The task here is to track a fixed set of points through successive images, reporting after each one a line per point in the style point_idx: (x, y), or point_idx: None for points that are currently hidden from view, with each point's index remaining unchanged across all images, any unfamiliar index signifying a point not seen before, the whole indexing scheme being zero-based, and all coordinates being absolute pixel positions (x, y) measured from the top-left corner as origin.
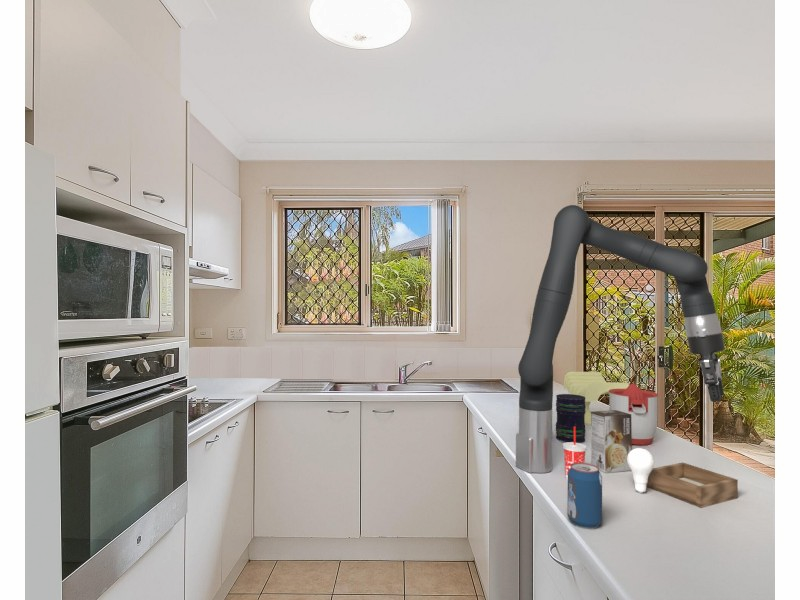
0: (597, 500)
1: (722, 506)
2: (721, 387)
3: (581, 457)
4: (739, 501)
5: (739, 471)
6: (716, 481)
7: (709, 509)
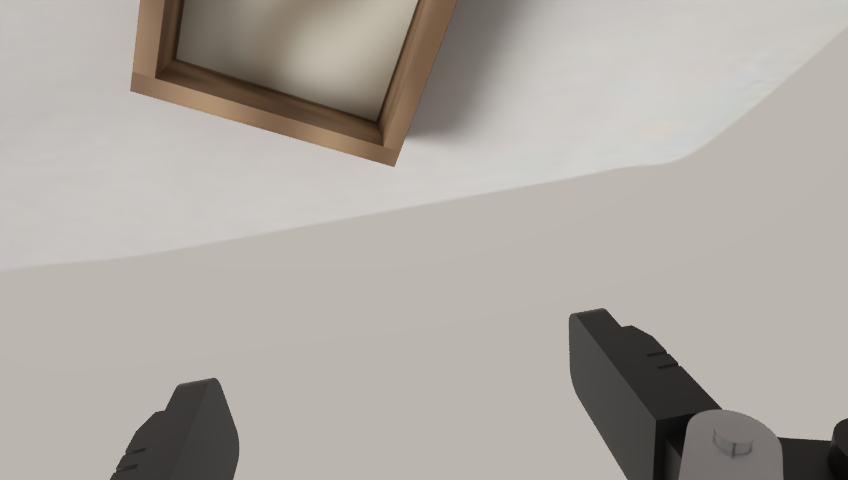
0: None
1: None
2: (606, 439)
3: None
4: None
5: (732, 72)
6: (401, 79)
7: None
